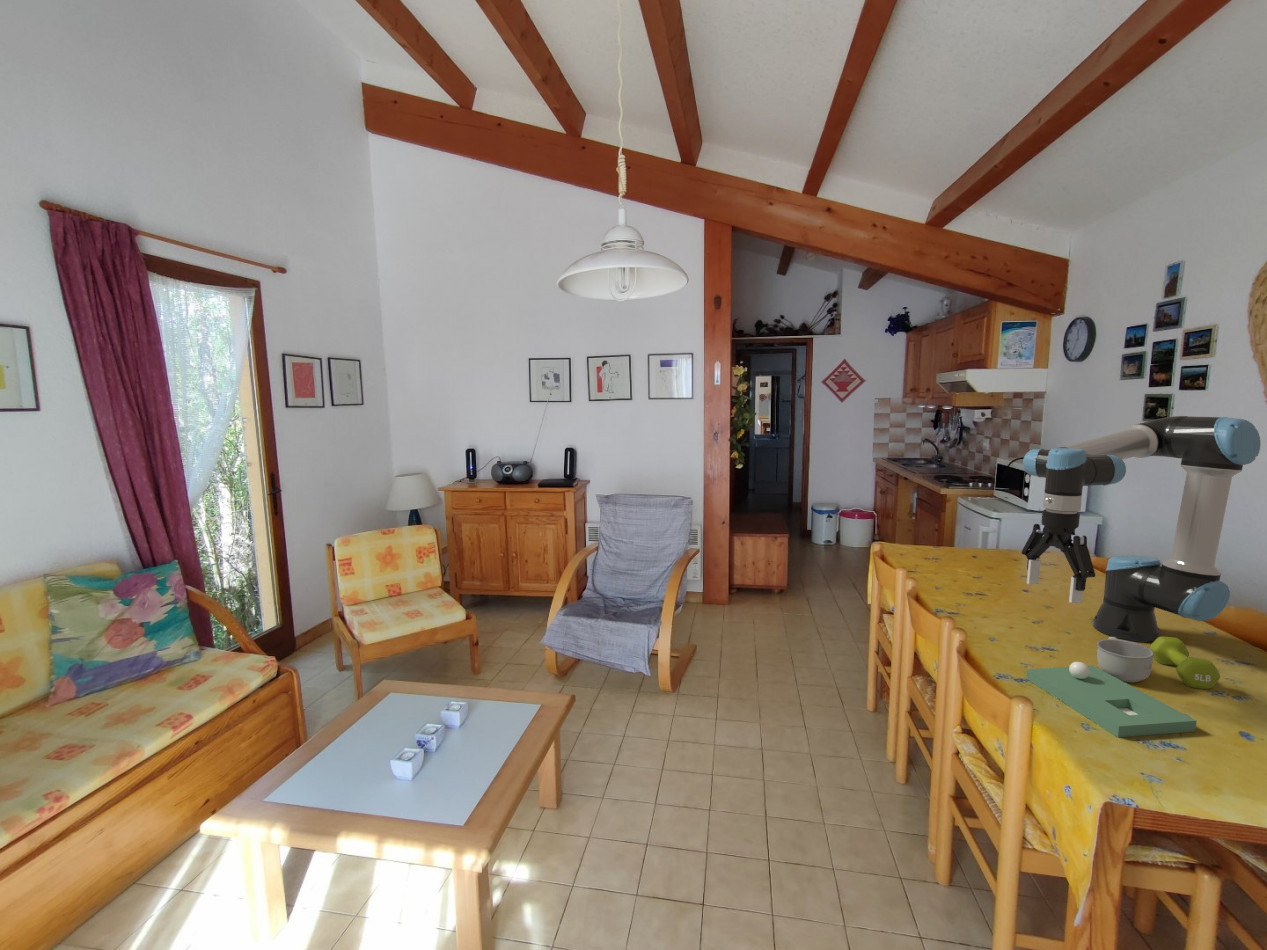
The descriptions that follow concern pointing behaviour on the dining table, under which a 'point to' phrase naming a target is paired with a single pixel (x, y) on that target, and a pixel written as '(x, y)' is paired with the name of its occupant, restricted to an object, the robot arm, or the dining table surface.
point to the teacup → (1124, 659)
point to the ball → (1079, 670)
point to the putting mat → (1111, 702)
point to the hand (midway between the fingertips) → (1053, 592)
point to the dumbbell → (1185, 663)
